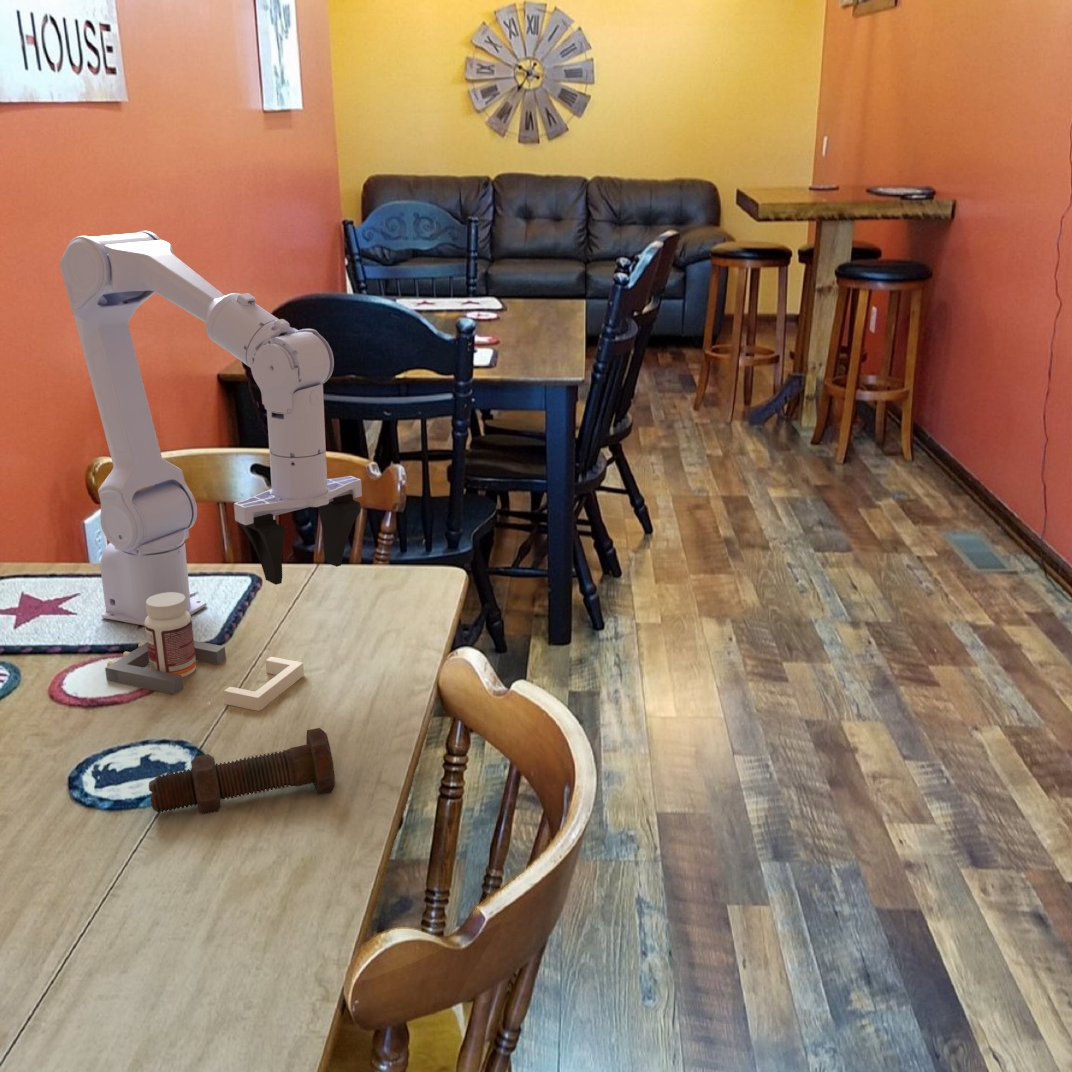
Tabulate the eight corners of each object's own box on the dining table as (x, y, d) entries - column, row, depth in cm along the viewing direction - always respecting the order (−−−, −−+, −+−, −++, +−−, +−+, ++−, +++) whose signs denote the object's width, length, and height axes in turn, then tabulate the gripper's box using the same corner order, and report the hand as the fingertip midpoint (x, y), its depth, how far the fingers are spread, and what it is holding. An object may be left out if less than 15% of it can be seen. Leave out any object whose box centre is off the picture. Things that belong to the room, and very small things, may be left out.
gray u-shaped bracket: (97, 678, 118) (95, 665, 118) (152, 644, 126) (151, 632, 126) (174, 694, 115) (172, 681, 115) (225, 658, 123) (224, 646, 123)
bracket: (225, 704, 113) (223, 690, 113) (271, 669, 121) (270, 656, 120) (259, 711, 112) (258, 697, 112) (303, 675, 120) (303, 662, 119)
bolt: (156, 829, 96) (331, 792, 101) (154, 832, 92) (338, 793, 96) (146, 760, 97) (320, 727, 102) (144, 761, 92) (327, 726, 97)
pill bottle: (203, 662, 122) (196, 591, 119) (186, 682, 118) (178, 609, 115) (161, 660, 123) (153, 589, 120) (142, 679, 118) (134, 606, 115)
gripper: (257, 471, 108) (266, 601, 113) (377, 445, 118) (380, 565, 123) (219, 456, 113) (229, 581, 118) (337, 432, 123) (342, 548, 127)
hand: (304, 572), depth 120 cm, fingers open, 7 cm apart
